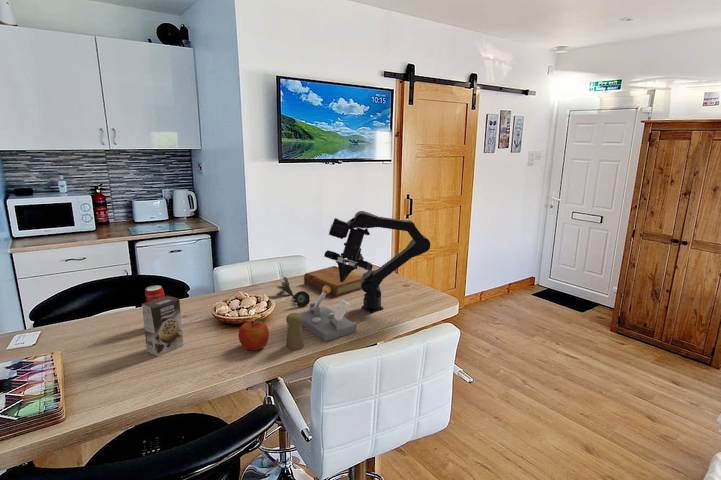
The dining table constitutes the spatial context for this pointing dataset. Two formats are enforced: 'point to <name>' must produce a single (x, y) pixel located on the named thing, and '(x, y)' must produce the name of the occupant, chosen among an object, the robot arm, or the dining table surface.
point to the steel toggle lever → (321, 297)
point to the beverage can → (154, 292)
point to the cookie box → (162, 325)
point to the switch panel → (326, 323)
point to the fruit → (253, 334)
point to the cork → (294, 332)
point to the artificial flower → (299, 297)
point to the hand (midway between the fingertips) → (341, 282)
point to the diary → (333, 281)
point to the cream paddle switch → (340, 311)
